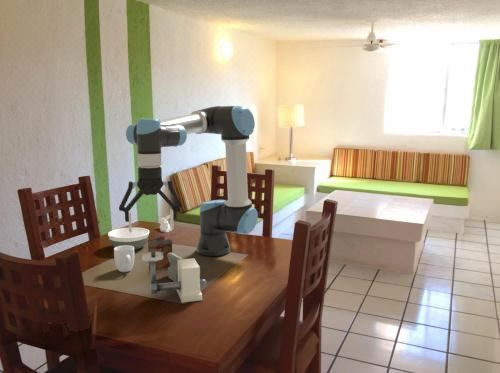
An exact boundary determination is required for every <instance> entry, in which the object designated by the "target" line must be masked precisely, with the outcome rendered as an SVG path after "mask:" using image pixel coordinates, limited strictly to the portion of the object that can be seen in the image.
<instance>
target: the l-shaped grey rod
mask: <svg viewBox="0 0 500 373" xmlns="http://www.w3.org/2000/svg"><path fill="white" fill-rule="evenodd" d="M163 260H164V253H163V252H160V251H156V250H150V251H148V252H145V253H142V254H141V261H142V262H144V263H148V264H150V267H149V269H150V282H149V283H150V284H149V287H150V288H149V289H150V295H156V294H157V295H158V292H167V291H177V289H181V281H179V282H174V281H172V282H162V283H158V282H157V263H159V262H162V261H163ZM207 283H208V282H207V280H206V279H204V278H200V288H202V287H205V286H206V285H207Z"/></svg>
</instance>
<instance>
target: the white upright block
mask: <svg viewBox="0 0 500 373" xmlns="http://www.w3.org/2000/svg"><path fill="white" fill-rule="evenodd" d="M177 261H178V282H179V281H181V289H177V290H176V292H177V294H178V297H179V300H180V302H181V303H182V304H183V303H188V302H189V303H190V302H198V301H199V302H200V301H203V293H202V291H201V287H200V279H201V267H200V265H199V264H198V262H197V261H196V259H195V257H193V258H183V259H180V260H177Z"/></svg>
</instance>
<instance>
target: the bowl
mask: <svg viewBox="0 0 500 373" xmlns="http://www.w3.org/2000/svg"><path fill="white" fill-rule="evenodd" d="M149 234H150V230H149V229H147V228H144V227H138V226H137V227H135V226H134V227H133V226H132V232H129V227H122V228H116V229H113V230H110V231H108V233H107V236H108V237H109V238H108V239H109V243H110V244H111V246H112V247H114V248H115V247H118V246H123V245H130V246H133V247H134V251H137V250H140V249H141V248H143V247H145V246H144V245H146V244H147V242H148V241H149Z"/></svg>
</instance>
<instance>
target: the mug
mask: <svg viewBox="0 0 500 373" xmlns="http://www.w3.org/2000/svg"><path fill="white" fill-rule="evenodd" d="M113 257H114V263H115V267H116V269H117V271H119V272H121V273H128V272H130V271H132V269H133V267H134V263H135V250H134V247H133V246H130V245H123V246H118V247H114V248H113Z"/></svg>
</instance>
